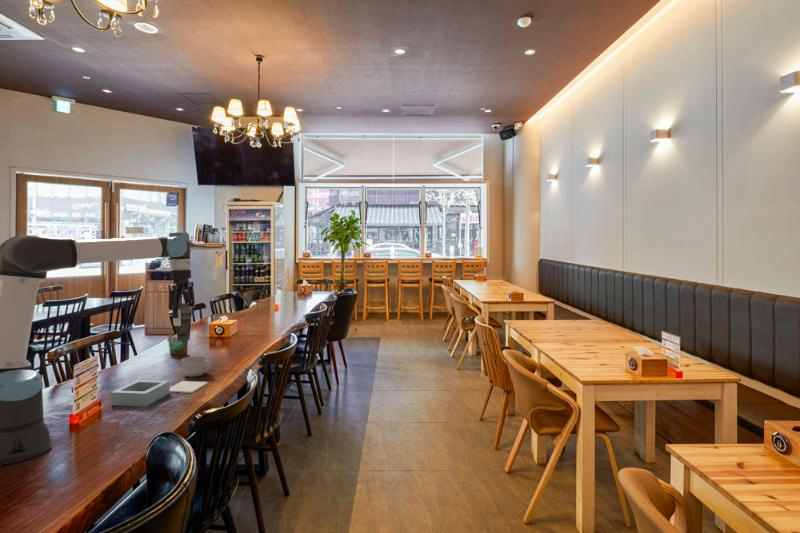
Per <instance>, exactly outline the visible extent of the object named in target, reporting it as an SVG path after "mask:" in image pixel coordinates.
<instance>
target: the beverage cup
mask: <svg viewBox="0 0 800 533" xmlns="http://www.w3.org/2000/svg"><path fill="white" fill-rule="evenodd" d="M179 310H180V316H181V326H174V327H175V333H176V337H177V339H178V341H188V342H189V341H190V339H191V338H190V337H191V325H192V324H191V323H192V322H191V316H192V317H193V314H192V313H193V310H191V308H190V306H189V305H187V304H185V302H184V303H182V299H181V300H180V305H179Z"/></svg>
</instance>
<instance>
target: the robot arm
mask: <svg viewBox="0 0 800 533" xmlns="http://www.w3.org/2000/svg"><path fill="white" fill-rule="evenodd" d="M168 257H169V262H170V263H169V267H170V269H171V271H170V279H171V280H173V283H172V284H168V286H167V287H168V310H169V311H172V320H173V326H174V327H175V326H181V316H180V310H179V305H180V300H181V301H182V299H181V298H182V297H183V300H184V303H185V304H187V305H189V306H190V308H191V310H192V308H193V307H195V304H196V301H195V292H194V291H195V290H194V281H190V279H191V277H192V270H191V266H192V265H191V264H192V263H191V240H190V233H189V232H186V231H184V232H183V231H181V232H179V231H177V232H175V231H173V232H172V231H171V232H170V231H169V234H168V236H142V237H134V238H133V237H132V238H131V237H130V238H129V237H128V238H127V237H126V238H110V239H109V238H107V239H103V238H101V239H79V240H76V239H74V238H73V237H55V236H54V237H53V236H46V235H36V234H35V235H34V234H33V235H27V234H26V235H25V234H19V235H14V236H11V237H9V238H8V239H5V240H4V241H3V242H2V243H1V244H0V280H1V281H2V285H1V290H0V464H6V463H13V464H15V463H14V462H18V461H21V462H24V461H23V460H25V461H27V460H26V459H28V460H31V459H34V458H36V457H38V456H40V455H42V454H44V453H46V452H47V451H49V450H50V449H51V448H52V447H53V441H54V440H53V436H52V434H51V433H50V430H49V428H48V426H47V425H46V423H45V419H44V418H45V417H44V397H43V385H44V384H43V383H44V382H43V379H42V375H41V373H40V372H38V371H36V370H33V369H31V366H32V363H31V362H30V361H29V360H28V359H27V354H28V349H29V343H30V342H29V341H30V338H31V331H32V324H33V319H34V314H35V309H36V302H37V298H38V296H37V295H38V291H39V286H40V284H41V283H42V282H45V281H46V280H47V274H48V272H51V271H58V270H63V269H71V268H74V269H75V268H76V267H77V266H78V265H83V264H93V263H94V264H95V263H107V262H108V263H109V262H120V261H131V260H145V259H146V260H147V259H155V258H156V259H157V258H160V259H161V258H168ZM192 311H193V310H192ZM192 322H193V315H192V316H191V323H192ZM30 458H31V459H30ZM18 463H19V462H18Z"/></svg>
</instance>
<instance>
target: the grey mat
mask: <svg viewBox="0 0 800 533" xmlns="http://www.w3.org/2000/svg"><path fill="white" fill-rule="evenodd" d="M207 384H209V382H208V381H195V380H191V381H190V380H181V381H180V382H178V383H175V384H174V385H172V386H170V393H177V392H179V394H180V393H182V394H193V393H194V392H196V391H198V390H200V389H201V388H202V387H205V386H206V385H207Z"/></svg>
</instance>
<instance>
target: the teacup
mask: <svg viewBox="0 0 800 533" xmlns="http://www.w3.org/2000/svg"><path fill="white" fill-rule="evenodd" d="M211 365H212V362H211V361H210V359H208V356H205V355H194V356H188V357H184V358H181V370H182V373H183V374H184V375H185V376H187V377H199V376H203V375H204V374H205V373H206V371H207V370H209V369H210V367H211Z"/></svg>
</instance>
